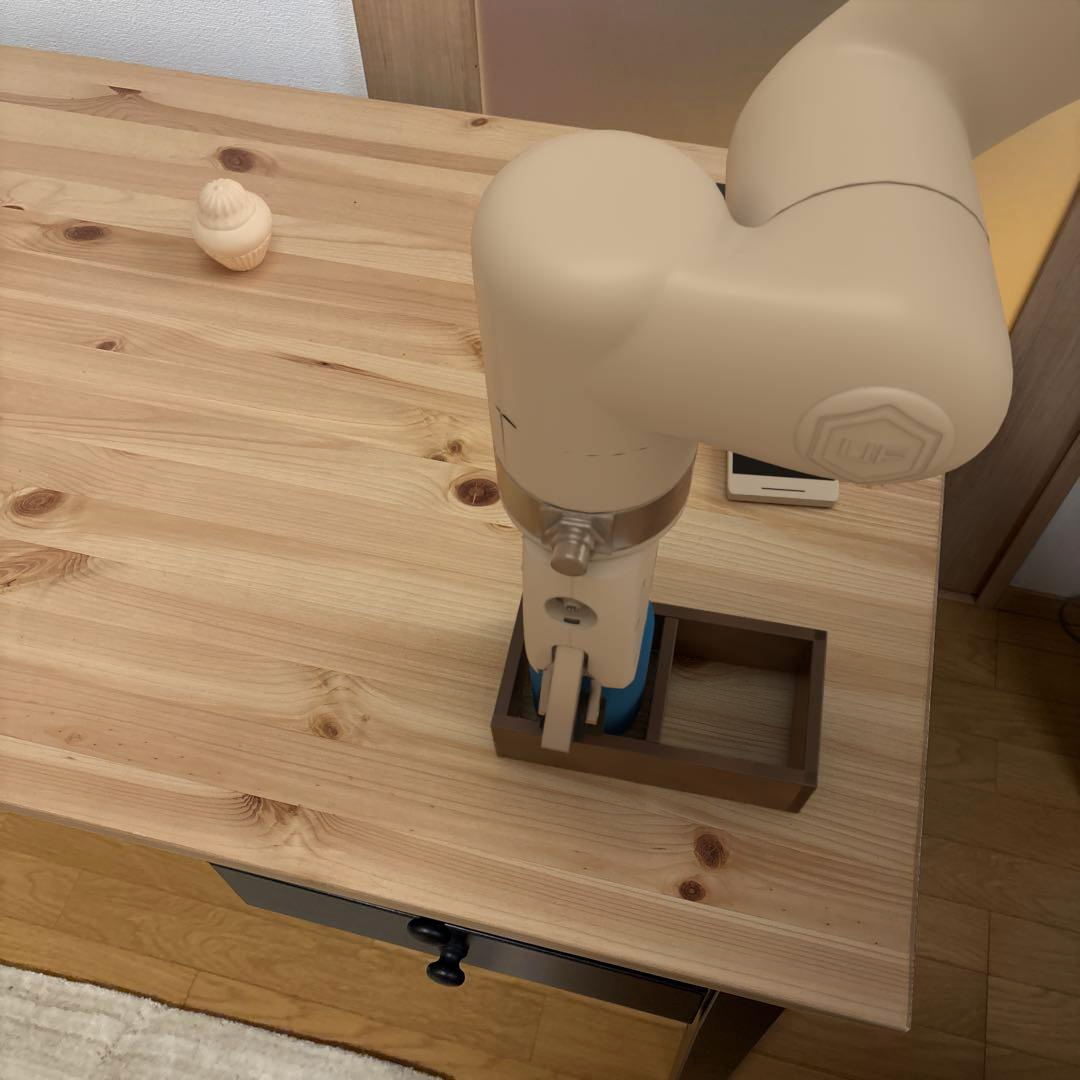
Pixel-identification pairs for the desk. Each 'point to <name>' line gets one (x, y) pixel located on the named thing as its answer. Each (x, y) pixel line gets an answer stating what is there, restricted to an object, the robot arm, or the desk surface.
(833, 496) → the smartphone
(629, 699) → the beverage can
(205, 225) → the muffin
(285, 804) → the desk surface
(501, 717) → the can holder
